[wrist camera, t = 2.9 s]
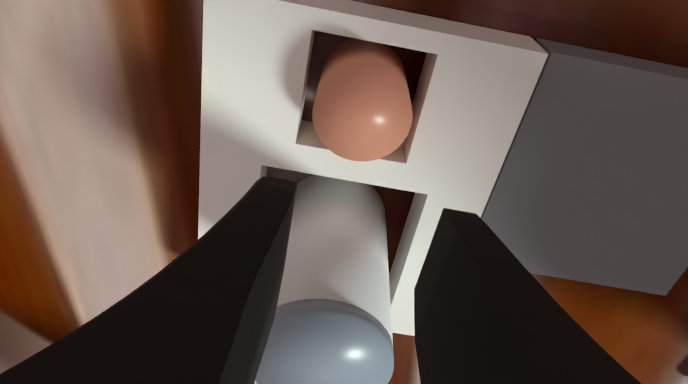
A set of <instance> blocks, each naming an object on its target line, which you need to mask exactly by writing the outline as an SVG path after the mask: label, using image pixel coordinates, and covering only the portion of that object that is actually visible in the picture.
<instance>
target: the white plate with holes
mask: <svg viewBox="0 0 688 384" xmlns="http://www.w3.org/2000/svg"><path fill="white" fill-rule="evenodd" d="M315 31H320V32H325V33H331V34H336V35H341V36H346V37H351V38H356V39H361V40H366V41H371V42H376V43H382V44H387V45H392V46H397V47H402V48H407V49H412V50H417V51H422V52H427V53H426V57H425V60H424V64H423V68H422V71H421V75H420V78H419V82H418V86H417V89H416V93H415V96H414V100H413V104H412V112H413V118H412V125H411V128H410V131H409V133H408V135H407V137H406V139H405V140H404V142H403V143H402V144H401V145H400V146H399V147H398V148H397V149H396V150H395V151H393V152H392V153H390V154H389V155H387V156H385V157H383V158H380V159H377V160H372V161H352V160H348V159H345V158H342V157H340V156H338V155H336V154H334V153H333V152H331V151H330V150H329V149H328V148H326V147H325V145H324V144H323V143H322V142H321V141H320V139H319V138H318V136H317V134H316V132H315V129H314V125H313V122H309V121H304V120H302V116H303V109H304V102H305V96H306V89H307V82H308V75H309V68H310V62H311V55H312V48H313V41H314V34H315ZM547 56H548V53H547V52H546V51H545V50H544V49H543V48H542V47H541V46H540V45H538V44H537V43H536V42H535V41H534V40H533V39H532V38H531V37H530V36H525V35H520V34H515V33H510V32H505V31H500V30H495V29H490V28H485V27H480V26H475V25H470V24H465V23H460V22H456V21H451V20H446V19H441V18H436V17H431V16H426V15H421V14H416V13H411V12H406V11H401V10H396V9H391V8H386V7H381V6H376V5H371V4H366V3H361V2H356V1H351V0H204V2H203V45H202V89H201V132H200V175H199V218H198V239H200V238H201V237H202V236H203V235H204V234H205V233H206V232H207V231H208V230H209V229H210V228H211V227H212V226H214V225H215V224H216V223H217V222H218V221H219V220H220V219H221V218H222V217H223V216H224V215H225V214H226V213H227V212H228V211H229V210H230V209H231V208H232V207H233V206H234V205H235V204H236V203H237V202H238V201H239V200H240V199H241V198H242V197H243V196H244V195H245V194H246V192H247V191H248V190H249V189H250V188H251V187H252V186H253V184H254V183H255V182H256V181H257V180H258V179H260V178H262V177H263V176H265V177H266V176H267V167H268V166H269V167H275V168H280V169H286V170H291V171H297V172H303V173H308V174H314V175H320V176H325V177H331V178H337V179H342V180H348V181H354V182H359V183H365V184H371V185H376V186H382V187H388V188H393V189H399V190H405V191H410V192H415V194H414V197H413V201H412V204H411V207H410V210H409V213H408V216H407V220H406V223H405V226H404V229H403V232H402V236H401V239H400V242H399V245H398V248H397V252H396V255H395V258H394V261H393V264H392V267H391V271H390V274H389V286H390V304H391V321H392V332H393V333H399V334H405V335H412V336H415V326H414V288H415V286H416V283H417V280H418V277H419V275H420V272H421V269H422V266H423V263H424V261H425V258H426V255H427V252H428V249H429V247H430V244H431V241H432V238H433V236H434V233H435V230H436V227H437V224H438V222H439V219H440V216H441V213H442V211H443V208H447V209H453V210H459V211H464V212H470V213H476V214H477V215H478V216H479V217H481V215H482V213H483V210H484V208H485V205H486V203H487V201H488V198H489V196H490V193H491V191H492V189H493V186H494V184H495V181H496V179H497V177H498V174H499V172H500V169H501V167H502V164H503V162H504V160H505V157H506V155H507V152H508V150H509V148H510V145H511V143H512V140H513V138H514V136H515V133H516V131H517V128H518V126H519V124H520V121H521V119H522V116H523V114H524V112H525V109H526V107H527V104H528V102H529V100H530V97H531V95H532V92H533V90H534V88H535V85H536V83H537V80H538V78H539V76H540V73H541V71H542V68H543V66H544V63H545V61H546V59H547Z"/></svg>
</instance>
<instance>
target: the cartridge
mask: <svg viewBox="0 0 688 384" xmlns="http://www.w3.org/2000/svg"><path fill="white" fill-rule="evenodd" d="M393 369H394V357H393V339H392V321H391V304H390V286H389V268H388V250H387V232H386V215H385V207H384V203H383V201H382V199H381V197H380V195H379V194H378V192H377V191H376V190H375V189H374V188H373V187H372V186H371V185H370V184H365V183H359V182H354V181H348V180H342V179H337V178H331V177H325V176H320V175H311V176H309V177H307V178H305V179H303V180H302V181H300V182H299V183H297V189H296V195H295V202H294V208H293V215H292V221H291V228H290V234H289V241H288V247H287V254H286V260H285V267H284V272H283V277H282V282H281V288H280V293H279V298H278V303H277V308H276V313H275V317H274V321H273V324H272V327H271V330H270V334H269V337H268V340H267V343H266V346H265V350H264V353H263V356H262V359H261V363H260V366H259V369H258V372H257V375H256V379H255V380H256V382H257V383H258V384H388V382H389V381H390V379H391V377H392V373H393Z"/></svg>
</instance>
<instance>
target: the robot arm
mask: <svg viewBox="0 0 688 384" xmlns="http://www.w3.org/2000/svg"><path fill="white" fill-rule="evenodd" d="M296 189H297V182H293V181H288V180H282V179H276V178H270V177H265V176H263V177H262V178H260V179H258V180H257V181H256V182H255V183H254V184H253V186H252V187H251V188H250V189H249V190H248V191H247V192H246V194H245V195H244V196H243V197H242V198H241V199H240V200H239V201H238V202H237V203H236V204H235V205H234V206H233V207H232V208H231V209H230V210H229V211H228V212H227V213H226V214H225V215H224V216H223V217H222V218H221V219H220V220H219V221H218V222H217V223H216V224H215V225H214V226H212V227H211V228H210V229H209V230H208V231H207V232H206V233H205V234H204V235H203V236H202V237H201V238H200V239H198V240H197V241H196V242H195V243H194V244H193V245H192V246H190V247H189V248H188V249H187V250H185V251H184V252H183V253H182V254H181V255H179V256H178V257H177V258H176V259H174V260H173V261H172V262H171V263H169V264H168V265H167V266H166V267H165V268H163V269H162V270H161V271H160V272H158V273H157V274H156V275H155V276H153V277H152V278H151V279H149V280H148V281H147V282H145V283H144V284H142V285H141V286H140V287H138V288H137V289H136V290H134V291H133V292H131V293H130V294H129V295H127V296H126V297H124V298H123V299H122V300H120V301H119V302H117V303H116V304H114V305H113V306H111V307H110V308H108V309H107V310H105V311H104V312H102V313H101V314H99V315H98V316H96V317H95V318H93V319H92V320H90V321H89V322H87V323H85V324H84V325H82V326H80V327H79V328H77V329H76V330H74V331H72V332H71V333H69V334H67V335H66V336H64V337H63V338H61V339H59V340H58V341H56V342H55V343H53V344H51V345H50V346H48V347H46V348H45V349H43V350H41V351H40V352H38V353H36V354H34V355H33V356H31V357H29V358H28V359H26V360H24V361H22V362H21V363H19V364H17V365H15V366H14V367H12V368H10V369H8V370H6V371H5V372H3V373H1V374H0V384H254V382H255V379H256V375H257V372H258V369H259V366H260V363H261V359H262V356H263V353H264V350H265V346H266V343H267V340H268V337H269V334H270V330H271V327H272V324H273V321H274V317H275V313H276V308H277V303H278V298H279V293H280V288H281V282H282V277H283V272H284V267H285V260H286V254H287V247H288V241H289V234H290V228H291V221H292V215H293V208H294V202H295V195H296ZM414 326H415V344H416V352H417V359H418V366H419V373H420V380H421V384H641V383H640V382H639V381H638V380H637V379H635V378H634V377H633V376H632V375H631V374H630V373H628V372H627V371H626V370H625V369H624V368H623V367H622V366H621V365H620V364H619V363H617V362H616V361H615V360H614V359H613V358H612V357H611V356H610V355H609V354H608V353H607V352H606V351H605V350H604V349H603V348H602V347H600V346H599V345H598V344H597V343H596V342H595V341H594V340H593V339H592V338H591V337H590V336H589V335H588V334H587V333H586V332H585V331H584V330H583V329H582V328H581V327H580V326H579V325H578V324H577V323H576V322H575V321H574V320H573V319H572V318H571V317H570V316H569V315H568V314H567V313H566V311H565V310H564V309H563V308H562V307H561V306H560V305H559V304H558V303H557V302H556V301H555V300H554V299H553V298H552V297H551V296H550V295H549V294H548V292H547V291H546V290H545V289H544V288H543V287H542V286H541V285H540V284H539V283H538V282H537V280H536V279H535V278H534V277H533V276H532V275H531V274H530V273H529V272H528V270H527V269H526V268H525V267H524V266H523V265H522V264H521V263H520V261H519V260H518V259H517V258H516V257H515V256H514V255H513V253H512V252H511V251H510V250H509V249H508V248H507V247H506V245H505V244H504V243H503V242H502V241H501V240H500V239H499V237H498V236H497V235H496V234H495V233H494V232H493V231H492V230H491V228H490V227H489V226H488V225H487V224H486V223H485V222H484V221H483V220H482V219H481V218H480V217H479V216H478V215H477V214H476V213H470V212H464V211H459V210H453V209H447V208H443V211H442V213H441V216H440V219H439V222H438V224H437V227H436V230H435V233H434V236H433V238H432V241H431V244H430V247H429V249H428V252H427V255H426V258H425V261H424V263H423V266H422V269H421V272H420V275H419V277H418V280H417V283H416V286H415V288H414Z"/></svg>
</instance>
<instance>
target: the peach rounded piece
mask: <svg viewBox="0 0 688 384" xmlns="http://www.w3.org/2000/svg"><path fill="white" fill-rule="evenodd" d="M412 118H413V112H412V105H411V100H410V95H409V90H408V85H407V80H406V74H405V70H404V66H403V63H402V61H401V59H400V57H399V56H398V54H397V53H396V52H395V51H394V50H393V49H392V48H391V47H390V46H388V45H387V44H382V43H376V42H371V41H366V40H361V39H356V38H354V39H351V40H348V41H345V42H343V43H342V44H340V45H338V46H337V47H336V48H335V49H333V51H332V52H331V53H330V54H329V55H328V57H327V58H326V60H325V62H324V65H323V67H322V71H321V76H320V80H319V84H318V88H317V93H316V97H315V101H314V105H313V112H312V119H313V125H314V129H315V132H316V134H317V136H318V138H319V139H320V141H321V142H322V143H323V144H324V145H325V147H326V148H328V149H329V150H330V151H331V152H333V153H334V154H336V155H338V156H340V157H342V158H345V159H348V160H352V161H372V160H377V159H380V158H383V157H385V156H387V155H389V154H390V153H392V152H393V151H395V150H396V149H397V148H398V147H399V146H400V145H401V144H402V143H403V142H404V140H405V139H406V137H407V135H408V133H409V131H410V128H411V125H412Z"/></svg>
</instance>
